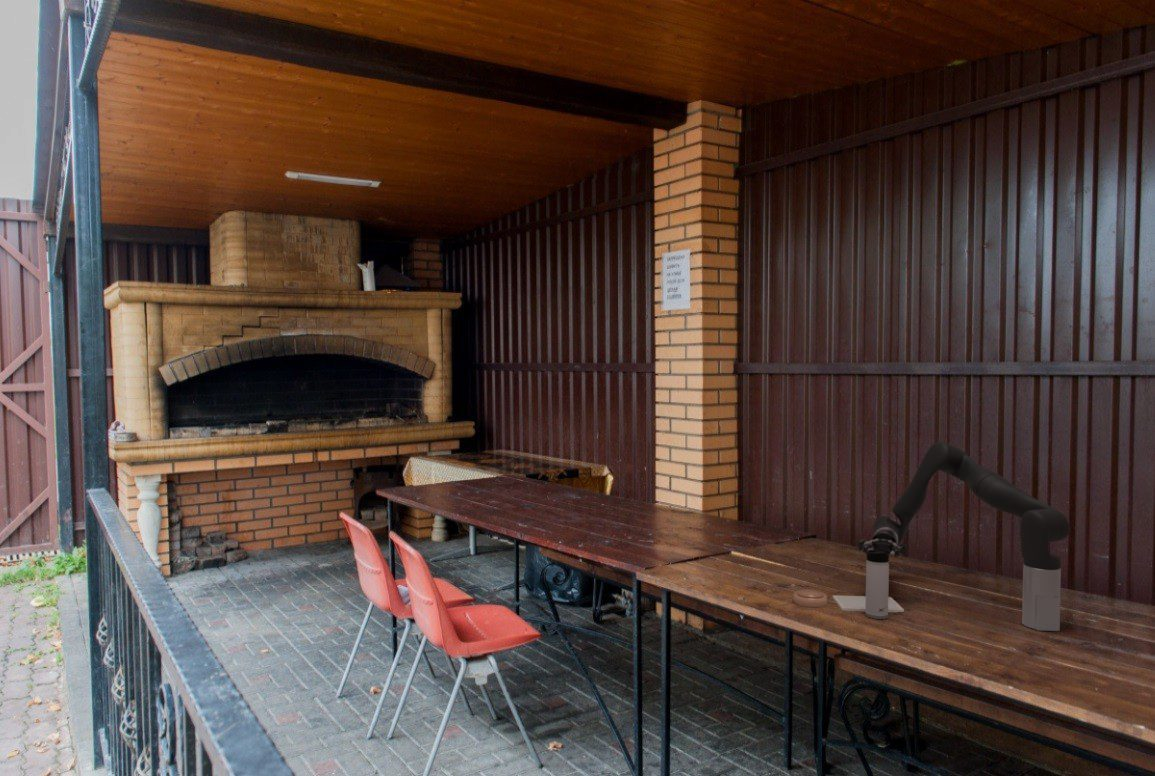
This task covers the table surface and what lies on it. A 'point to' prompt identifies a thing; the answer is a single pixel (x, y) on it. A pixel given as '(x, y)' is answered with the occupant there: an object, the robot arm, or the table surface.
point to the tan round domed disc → (810, 598)
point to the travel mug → (877, 583)
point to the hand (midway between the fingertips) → (880, 551)
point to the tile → (862, 603)
